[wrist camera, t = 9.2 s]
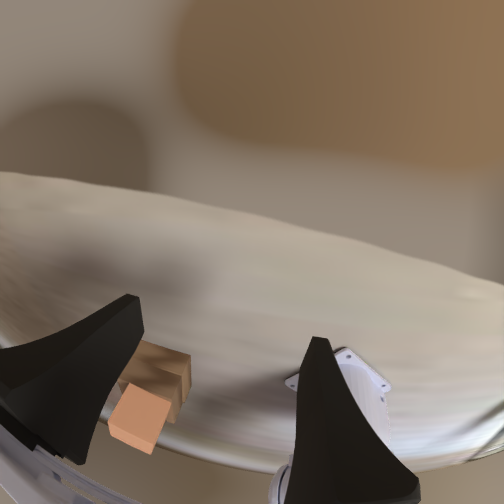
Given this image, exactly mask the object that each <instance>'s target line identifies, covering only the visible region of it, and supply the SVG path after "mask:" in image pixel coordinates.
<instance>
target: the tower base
mask: <svg viewBox="0 0 504 504" xmlns="http://www.w3.org/2000/svg"><path fill="white" fill-rule="evenodd" d="M131 358H133V359H136V360H138V361H141V362H143V363H146V364H149V365H151V366H154V367H157V368H159V369H162V370H165V371H168V372H171V373H174V374H177V375H180V376H182V403H185V400H186V398H187V395H188V393H189V390H190V388H191V355H188V354H184V353H181V352H178V351H174V350H171V349H168V348H165V347H161V346H158V345H155V344H152V343H149V342H146V341H143V340H140V343H139V345H138V347H137V349H136V351H135V353H134V354H133V356H132V357H131Z"/></svg>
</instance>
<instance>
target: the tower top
mask: <svg viewBox="0 0 504 504" xmlns="http://www.w3.org/2000/svg"><path fill="white" fill-rule="evenodd" d="M117 381H118V384H119V387H120V389H121V392H122V395H123V393H124V392H125V390H126V388H127V386H128V385H129V383H131V384H133V385H135V386H137V387H139V388H141V389H143V390H145V391H147V392H149V393H151V394H153V395H156V396H158V397H160V398H162V399H164V400H166V401H169V402H171V406H170V409H169V412H168V415H167V418H166V420H165V421H168V422H170V423H173V424H174V423H175V421H176V418H177V416H178V413H179V411H180V408H181V406H182V376H180V375H177V374H174V373H171V372H168V371H165V370H162V369H159V368H157V367H154V366H151V365H149V364H146V363H143V362H141V361H138V360H136V359H133V358H131V359H130V361H129V362H128V364H127V365H126V367H125V368H124V370H123V372H122V373H121V375H120V376H119V378H118V380H117Z"/></svg>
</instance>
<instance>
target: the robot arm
mask: <svg viewBox="0 0 504 504" xmlns="http://www.w3.org/2000/svg"><path fill="white" fill-rule="evenodd" d="M143 334H144V326H143V320H142V313H141V306H140V299H139V297H137V296H134V295H130V294H126V295H124V296H122V297H120V298H118V299H117V300H115V301H113V302H112V303H110V304H108V305H107V306H105V307H103V308H102V309H100V310H98V311H97V312H95V313H93V314H91V315H90V316H88V317H86V318H84V319H83V320H81V321H79V322H77V323H75V324H73V325H71V326H70V327H68V328H66V329H63V330H61V331H59V332H57V333H54V334H52V335H50V336H47V337H45V338H42V339H39V340H36V341H33V342H30V343H26V344H23V345H19V346H14V347H10V348H4V349H0V485H1V486H2V487H3V489H4V490H5V491H6V492H7V493H8V494H9V495H10V496H11V497H12V498H13V499H14V501H15V502H17V504H96V503H95V502H93V501H91V500H90V499H88V498H86V497H85V496H83V495H81V494H80V493H78V492H76V491H74V490H72V489H71V488H69V487H67V486H66V485H64V484H63V483H62V482H61V478H60V476H61V477H62V478H64V479H65V480H67V481H68V482H70V483H72V484H73V485H75V486H77V487H78V488H80V489H82V490H83V491H85V492H87V493H89V494H90V495H92V496H94V497H96V498H98V499H100V500H102V501H103V502H105V503H107V504H143V503H140V502H137V501H135V500H133V499H130V498H128V497H126V496H124V495H121V494H119V493H117V492H115V491H113V490H111V489H109V488H107V487H105V486H103V485H101V484H99V483H97V482H95V481H93V480H92V479H90V478H88V477H86V476H84V475H82V474H81V473H79V472H78V471H76V470H74V469H73V468H71V467H69V466H68V465H66V464H65V463H63V462H62V461H60V460H58V459H57V458H55V455H58V456H59V457H61V458H64V457H65V458H67V459H69V460H70V461H72V462H73V463H75V464H77V465H83V464H85V462H86V457H87V453H88V449H89V445H90V441H91V439H92V435H93V432H94V429H95V426H96V424H97V421H98V418H99V416H100V413H101V411H102V409H103V406H104V404H105V402H106V400H107V397H108V395H109V393H110V391H111V390H112V388H113V386H114V384H115V383H116V381H117V380H118V378H119V376H120V375H121V373H122V372H123V370H124V368H125V367H126V365H127V364H128V362H129V361H130V359H131V357H132V356H133V354H134V353H135V351H136V349H137V347H138V345H139V343H140V340H141V338H142V336H143ZM347 355H349V356H347ZM285 385H286V386H288V387H289V388H291V389H292V390H294V391H295V392H297V411H296V440H295V449H294V454H292V455H290V456H289V464H286V465H283V466H282V467H280V469H279V470H278V471H277V473H276V474H275V475H274V477H273V478H272V481H271V484H270V488H269V497H268V499H269V504H418V503H419V502H420V501H421V495H420V484H419V478H418V477H416V476H415V475H414V474H413V473H412V472H411V471H410V470H409V469H408V468H406V467H405V466H404V465H403V464H402V463H401V462H400V461H399V460H398V459H397V458H396V457H395V456H394V453H393V452H392V451H390V450H389V449H388V448H387V447H388V445H389V442H390V437H391V432H390V424H389V417H388V410H387V404H386V397H385V393H386V392H388V391H389V390H391V388H392V387H391V384H389V383H388V382H387V381H386V380H385V379H384V378H382V377H381V376H380V375H379V374H378V373H377V372H375V371H374V370H373V369H372V368H371V367H370V366H368V365H367V364H366V363H365V362H364V361H363V360H362V359H360V358H359V357H358V356H357V355H356V354H355V353H353V352H352V351H351V350H350V349H348V348H344V349H342V350H340V351H338V352H336V353H335V354H334V353H333V350H332V347H331V345H330V342H329V340H328V339H327V338H321V337H314V336H312V339H311V342H310V344H309V347H308V349H307V352H306V354H305V357H304V359H303V362H302V364H301V367H300V371H299V373H298V374H296V375H294V376H292V377H290V378H288V379H286V380H285Z"/></svg>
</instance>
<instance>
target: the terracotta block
mask: <svg viewBox="0 0 504 504" xmlns="http://www.w3.org/2000/svg"><path fill="white" fill-rule="evenodd" d="M170 406H171V402H169V401H166V400H164V399H162V398H160V397H158V396H156V395H153V394H151V393H149V392H147V391H145V390H143V389H141V388H139V387H137V386H135V385H133V384H131V383H129V385H128V386H127V388H126V390H125V392H124V393H123V395H122V397H121V399H120V400H119V402H118V404H117V406H116V408H115V409H114V411H113V413H112V415H111V417H110V418H109V420H108V425H109V430H110V434H111V436H113V437H115V438H117V439H119V440H121V441H123V442H125V443H127V444H129V445H131V446H133V447H135V448H137V449H139V450H141V451H143V452H146V453H148V454H150V455H151V453H152V451H153V448H154V446H155V444H156V441H157V439H158V437H159V434H160V432H161V429H162V427H163V425H164V422H165V420H166V418H167V415H168V412H169V409H170Z"/></svg>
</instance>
